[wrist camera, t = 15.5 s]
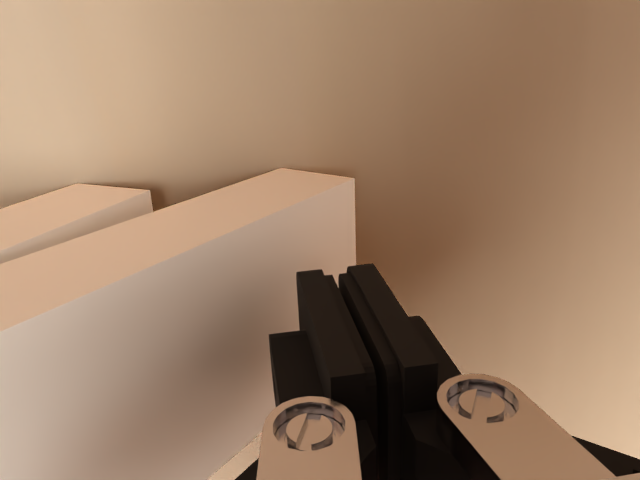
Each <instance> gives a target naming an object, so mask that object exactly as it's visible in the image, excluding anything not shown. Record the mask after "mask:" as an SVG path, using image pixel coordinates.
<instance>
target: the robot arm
mask: <svg viewBox="0 0 640 480" xmlns="http://www.w3.org/2000/svg"><path fill="white" fill-rule="evenodd" d="M296 284H297V299H298V314H299V329H300V330H299V331H291V332H283V333H274V334H269V347H270V359H271V370H272V380H273V389H274V398H275V406H276V408H274V409H273V410H272V411H271V412H270V414H269V415H268V416H267V417H266V419H265V422H264V425H263V429H262V437H261V445H260V453H259V458H258V459H257V460H256V461H255V462H254V463H253V464H252V465H250V466H249V467H248V468H247V469H246V470H245V471H244V472H243V473H242V474H241V475H240V476H238V477H237V478H236V479H235V480H640V459H637V458H634V457H631V456H628V455H625V454H623V453H620V452H617V451H614V450H611V449H608V448H605V447H602V446H600V445H597V444H594V443H591V442H588V441H585V440H582V439H580V438H577V437H574V436H571V435H570V434H568V433H567V432H566V431H565V430H564V429H563V428H562V427H561V426H560V425H558V424H557V423H556V422H555V421H554V420H553V419H552V418H551V417H550V416H549V415H547V414H546V413H545V412H544V411H543V410H542V409H541V408H540V407H539V406H537V405H536V404H535V403H534V402H533V401H532V400H531V399H530V398H529V397H527V396H526V395H525V394H524V393H523V392H522V391H521V390H520V389H518V388H517V387H515V386H514V385H513V384H511V383H510V382H507V381H505V380H503V379H500V378H498V377H494V376H489V375H485V374H464V375H462V374H461V373H460V371H459V370H458V369H457V367H456V366H455V364H454V363H453V361H452V360H451V359H450V357H449V356H448V354H447V353H446V351H445V350H444V349H443V347H442V346H441V344H440V343H439V341H438V340H437V339H436V337H435V336H434V334H433V333H432V331H431V330H430V329H429V327H428V326H427V324H426V323H425V321H424V320H423V319H422V318H421V317H420V316H412V317H408V316H407V315H406V313H405V311H404V310H403V308H402V307H401V305H400V304H399V302H398V301H397V299H396V298H395V296H394V295H393V293H392V292H391V290H390V288H389V287H388V285H387V284H386V282H385V281H384V279H383V278H382V276H381V275H380V273H379V272H378V270H377V269H376V267H375V266H374V264H364V265H355V266H348V267H347V273H342V274H339V277H338V285H339V288H338V286H337V284H336V282H335V280H334V277H333V275H324V273H323V271H322V269H318V270H309V271H300V272H296Z"/></svg>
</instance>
